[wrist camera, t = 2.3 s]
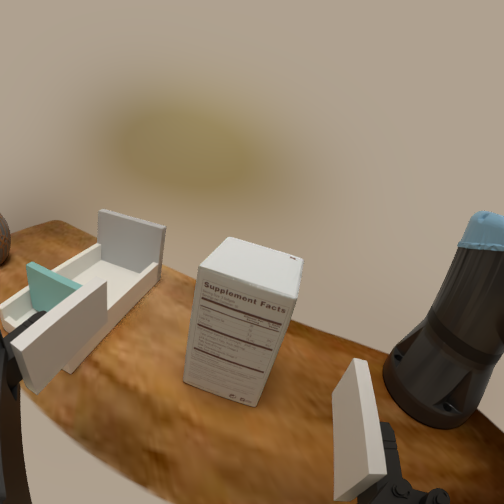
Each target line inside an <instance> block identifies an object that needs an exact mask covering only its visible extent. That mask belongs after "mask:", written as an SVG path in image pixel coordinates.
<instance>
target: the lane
mask: <svg viewBox="0 0 504 504" xmlns="http://www.w3.org/2000/svg"><path fill="white" fill-rule="evenodd" d="M165 232H166V226H163V225H159V224H156V223H152V222H148V221H145V220H142V219H138V218H135V217H131V216H127V215H124V214H120V213H117V212H113V211H110V210H106V209H102V210H99V212H98V236H97V244H95V245H93V246H91V247H90V248H88V249H86V250H84V251H83V252H81V253H79V254H78V255H76V256H74V257H73V258H71V259H69V260H68V261H66V262H64V263H63V264H61V265H59V266H58V267H56V268H55V269H53V270H51V271H53V272H55V273H57V274H59V275H61V276H63V277H65V278H68V279H70V280H72V281H74V282H76V283H79V284H81V285H85V284H86V283H87V282H89V281H90V280H91V279H93V278H94V277H96V276H97V277H99V278H102V279H104V280H107V313H108V322H107V323H106V324H105V325H104V326H103V327H102V328H101V329H100V330H99V331H98V332H97V333H96V334H95V335H94V336H93V337H92V338H91V339H90V340H89V341H88V342H87V343H86V344H85V345H84V346H83V347H82V348H81V349H80V350H79V351H78V352H77V353H76V354H75V355H74V356H73V358H72V359H71V360H70V361H69V362H68V363H67V364H66V365H65V366H64V367H63V368H62V369H63V370H64V371H66V372H68V373H70V374H72V373H73V371H74V370H75V369H76V368H77V367H78V366H79V365H80V364H81V363H82V361H83V360H84V359H85V358H86V357H87V356H88V355H89V354H90V353H91V351H92V350H93V349H94V348H95V347H96V346H97V345H98V344H99V343H100V342H101V341H102V339H103V338H104V337H105V336H106V335H107V334H108V333H109V332H110V331H111V330H112V329H113V328H114V327H115V325H116V324H117V323H118V322H119V321H120V320H121V319H122V318H123V317H124V316H125V315H126V314H127V313H128V312H129V311H130V310H131V309H132V308H133V307H134V306H135V304H136V303H137V302H138V301H139V300H140V299H141V298H142V297H143V296H144V295H145V294H146V293H147V292H148V291H149V290H150V289H151V288H152V287H153V286H154V285H155V284H156V283H157V282H158V281H159V280H160V278H161V268H162V259H163V250H164V241H165ZM37 312H39V311H37V310H36V309H34V308H33V306H32V301H31V295H30V290H29V285H28V286H27V287H25V288H24V289H22V290H21V291H19V292H18V293H16V294H15V295H13V296H12V297H10V298H9V299H7V300H6V301H5V302H3V303H2V304H0V318H1V321H2V325H3V328H4V329H5V330H6V331H7V332H8V333H10V332H12V331H13V330H14V329H15V328H17V327H18V326H19V325H20V324H21V325H22V323H23V322H24V321H26V320H28V318H29V317H31V316H32V315H33V314H35V313H37Z"/></svg>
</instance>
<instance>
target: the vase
mask: <svg viewBox="0 0 504 504" xmlns="http://www.w3.org/2000/svg"><path fill="white" fill-rule="evenodd" d="M10 244H11V237H10V230H9V227H8V224H7V222H6V220H5V218H4V217H3V216H2V215H1V214H0V264H2V263H3V262H4V261H5V259H6V258H7V256H8V254H9V251H10Z"/></svg>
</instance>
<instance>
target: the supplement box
mask: <svg viewBox="0 0 504 504" xmlns="http://www.w3.org/2000/svg"><path fill="white" fill-rule="evenodd" d="M303 264H304V260H303V259H301V258H299V257H296V256H293V255H290V254H287V253H284V252H280V251H277V250H274V249H270V248H267V247H263V246H260V245H256V244H253V243H250V242H247V241H244V240H240V239H236V238H233V237H228V238H226V239H225V240H224V241H223V242H222V243H221V244H220V245H219V246H218V247H217V248H216V249H215V250H214V251H213V252H212V253H211V254H210V255H209V256H208V257H207V258H206V259H205V260H204V261H203V262H202V263H201V264H200V265H199V267H198V274H197V280H196V286H195V293H194V300H193V306H192V312H191V319H190V326H189V334H188V342H187V350H186V358H185V367H184V376H183V381H184V382H185V383H187V384H190V385H192V386H194V387H197V388H200V389H202V390H205V391H207V392H210V393H213V394H215V395H218V396H221V397H224V398H227V399H230V400H233V401H236V402H239V403H242V404H245V405H248V406H252V407H256V405H257V403H258V401H259V398H260V396H261V393H262V391H263V388H264V386H265V383H266V381H267V378H268V376H269V374H270V371H271V369H272V366H273V364H274V361H275V359H276V356H277V353H278V351H279V348H280V346H281V343H282V341H283V338H284V335H285V333H286V330H287V328H288V325H289V322H290V319H291V316H292V313H293V310H294V307H295V304H296V301H297V298H298V292H299V286H300V280H301V277H302V269H303Z"/></svg>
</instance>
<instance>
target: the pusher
mask: <svg viewBox="0 0 504 504" xmlns="http://www.w3.org/2000/svg"><path fill="white" fill-rule="evenodd" d="M26 270H27V277H28V284H29V290H30V295H31V301H32V306H33V308H34V309H36V310H37V311H39V312H40V311H43V310H44V311H46V312H49V311H50V310H51V309H53V308H54V307H55V306H56V305H58V304H59V303H60V302H62V301H63V300H64V299H66V298H67V297H68V296H70V295H71V294H72V293H74V292H75V291H76V290H78V289H79V288H80V287H82V286H83V285H81V284H79V283H76V282H74V281H72V280H70V279H68V278H65V277H63V276H61V275H59V274H57V273H55V272H53V271H51V270H49V269H46V268H44V267H42V266H40V265H38V264H36V263H34V262H30V263H28V264H27V265H26Z"/></svg>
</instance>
